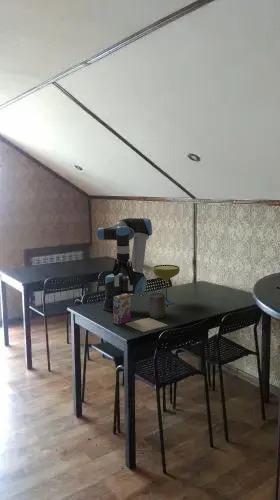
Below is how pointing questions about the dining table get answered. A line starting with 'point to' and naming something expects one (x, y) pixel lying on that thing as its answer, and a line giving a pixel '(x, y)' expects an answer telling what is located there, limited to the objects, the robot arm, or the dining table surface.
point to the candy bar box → (121, 309)
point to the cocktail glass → (166, 275)
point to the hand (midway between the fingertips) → (123, 288)
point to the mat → (146, 324)
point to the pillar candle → (157, 305)
